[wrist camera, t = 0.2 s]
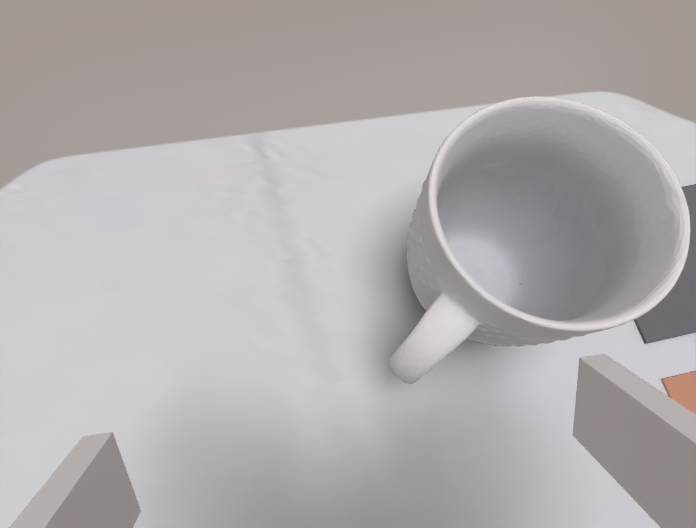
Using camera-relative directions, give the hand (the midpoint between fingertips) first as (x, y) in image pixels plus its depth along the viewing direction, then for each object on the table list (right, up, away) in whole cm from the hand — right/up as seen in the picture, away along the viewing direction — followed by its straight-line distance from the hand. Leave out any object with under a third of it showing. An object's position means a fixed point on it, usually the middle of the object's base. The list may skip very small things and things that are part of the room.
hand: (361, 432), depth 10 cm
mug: (+8, +3, +17) cm, 19 cm away
